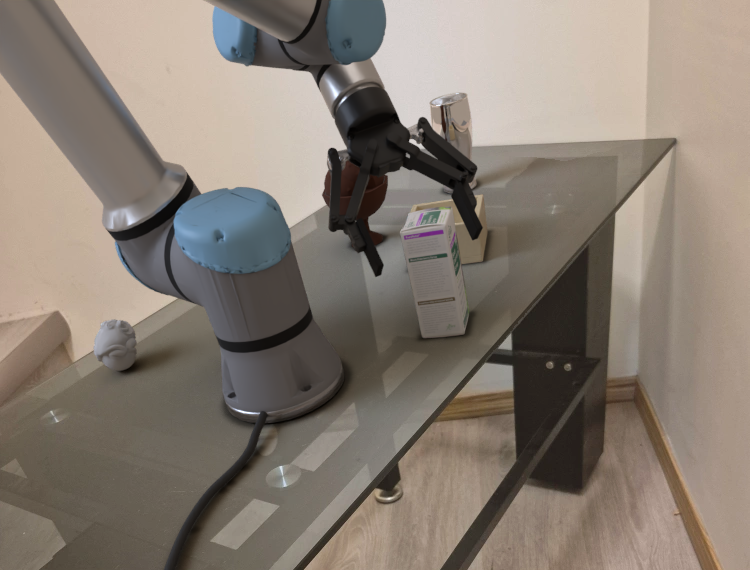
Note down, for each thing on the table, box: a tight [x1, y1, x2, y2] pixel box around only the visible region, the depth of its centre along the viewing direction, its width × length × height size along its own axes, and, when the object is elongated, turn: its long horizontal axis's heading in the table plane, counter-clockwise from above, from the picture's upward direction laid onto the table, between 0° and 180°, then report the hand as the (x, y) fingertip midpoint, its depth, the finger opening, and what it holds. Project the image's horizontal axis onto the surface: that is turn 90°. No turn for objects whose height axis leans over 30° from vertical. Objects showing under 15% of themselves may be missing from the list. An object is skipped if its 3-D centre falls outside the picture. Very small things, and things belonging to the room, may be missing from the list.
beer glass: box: [429, 92, 478, 195], centre depth 131 cm, size 7×7×15 cm
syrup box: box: [399, 207, 470, 339], centre depth 92 cm, size 6×6×14 cm
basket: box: [409, 193, 488, 265], centre depth 113 cm, size 11×11×6 cm
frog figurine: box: [93, 318, 138, 372], centre depth 105 cm, size 6×7×7 cm
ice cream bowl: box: [321, 160, 389, 248], centre depth 120 cm, size 11×11×15 cm
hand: (429, 252), depth 91 cm, fingers open, 13 cm apart
